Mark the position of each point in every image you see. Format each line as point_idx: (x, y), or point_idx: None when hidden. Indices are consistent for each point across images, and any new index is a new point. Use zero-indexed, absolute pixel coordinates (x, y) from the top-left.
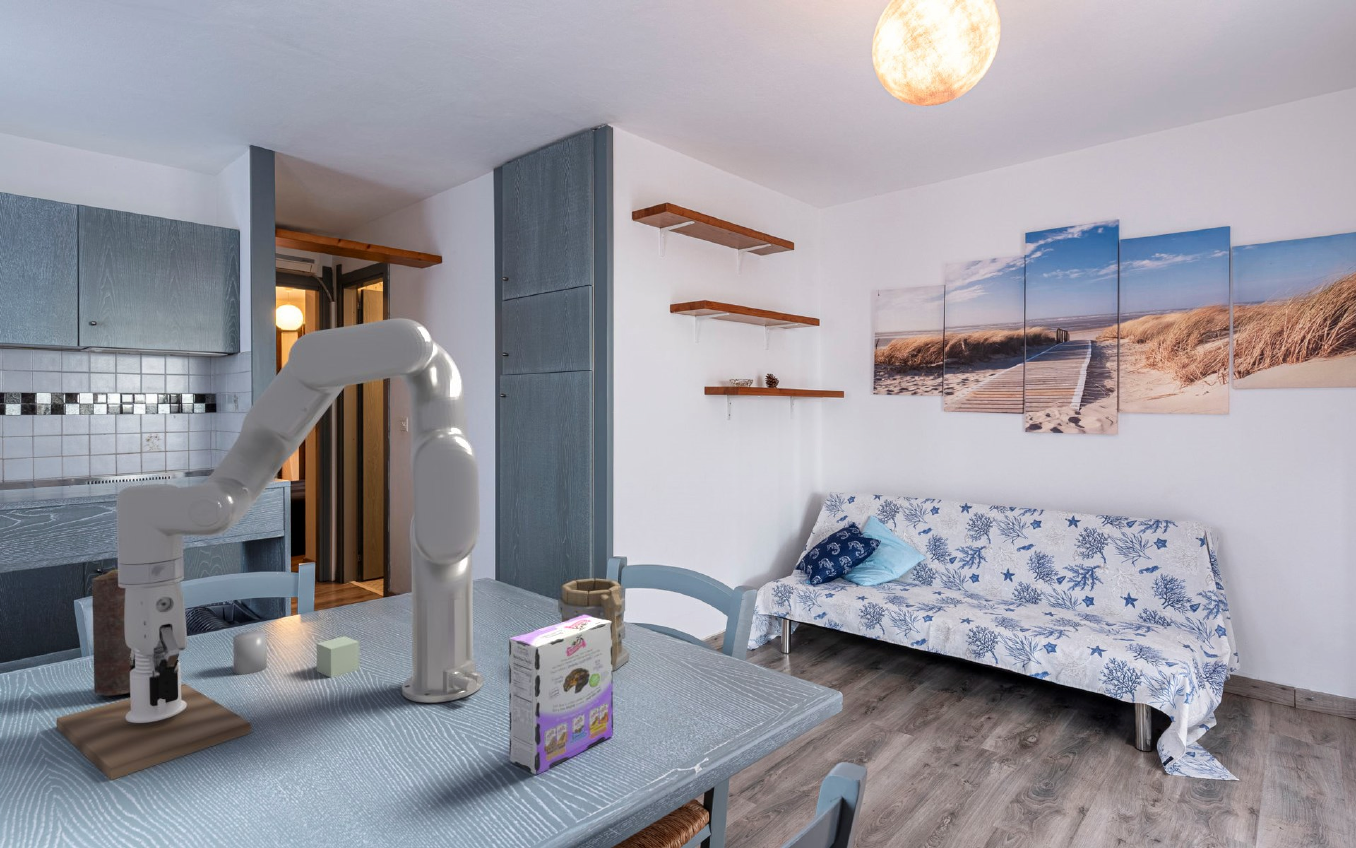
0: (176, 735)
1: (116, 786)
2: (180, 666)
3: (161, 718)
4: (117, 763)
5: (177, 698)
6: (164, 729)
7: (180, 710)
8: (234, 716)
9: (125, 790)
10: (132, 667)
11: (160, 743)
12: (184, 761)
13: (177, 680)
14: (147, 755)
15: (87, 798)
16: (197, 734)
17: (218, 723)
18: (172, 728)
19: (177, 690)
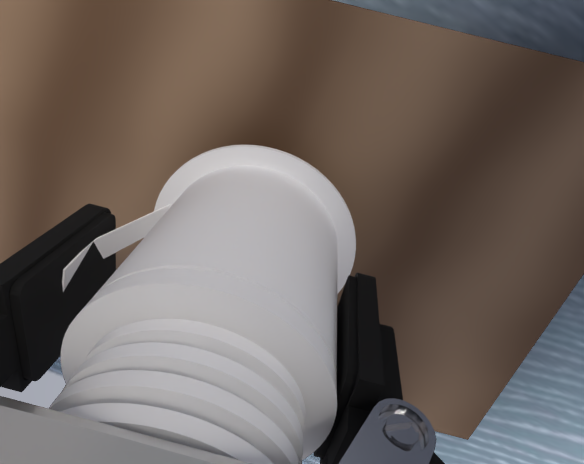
0: (462, 281)
1: (502, 423)
2: (280, 307)
3: (345, 280)
4: (460, 425)
5: (375, 278)
6: (370, 265)
7: (346, 214)
8: (558, 77)
9: (544, 429)
10: (24, 380)
11: (463, 330)
12: (572, 311)
13: (380, 340)
14: (500, 383)
15: (487, 459)
16: (537, 254)
17: (541, 160)
18: (390, 252)
19: (377, 302)
